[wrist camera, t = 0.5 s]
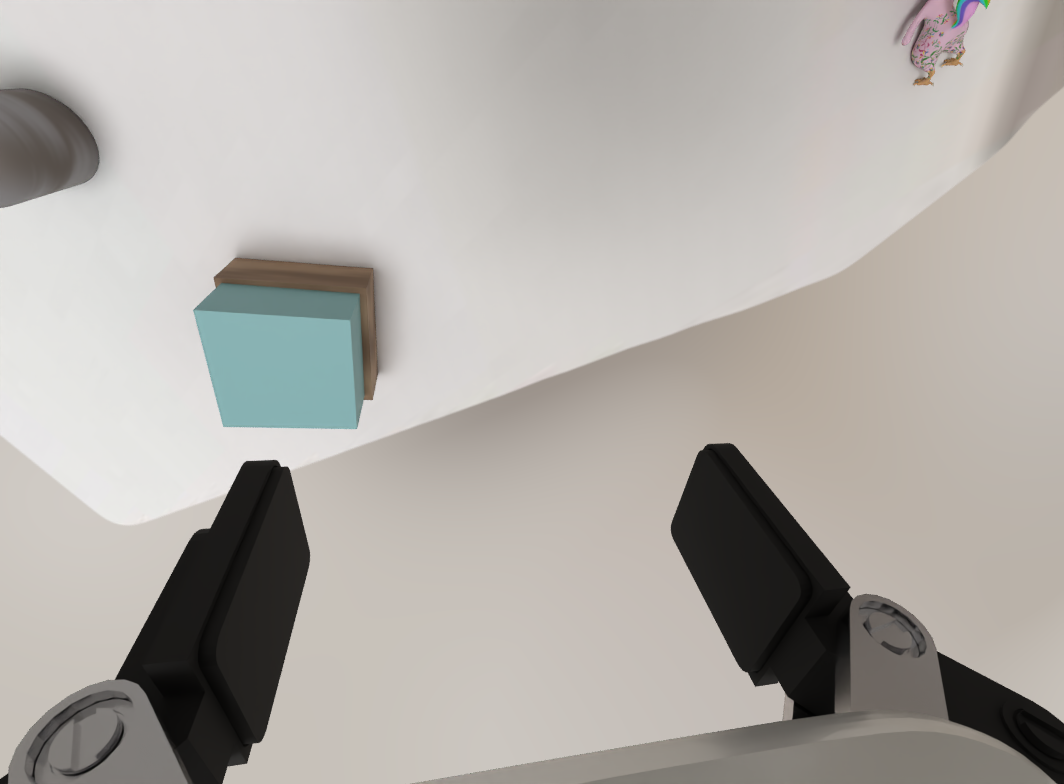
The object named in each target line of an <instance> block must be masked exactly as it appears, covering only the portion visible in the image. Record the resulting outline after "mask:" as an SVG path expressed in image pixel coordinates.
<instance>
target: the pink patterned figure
mask: <svg viewBox="0 0 1064 784" xmlns="http://www.w3.org/2000/svg"><path fill="white" fill-rule="evenodd" d="M953 2H954V0H927V2H926V3H925V5H924V6H923V7H922V9H921V10H920V11H919V13H918V14H917V16H916V17H915V19H914V20H913V22H912V24H911V25H910V27H909V29H908V30H907V32H906V34H905V36H904V38H903V40H902V45H907V44H908V43H909V42H910V40H911V38H912V35H913V33H914V31H915V29H916V28H917V26H918V25H919V23H920V22H921V21H922V20H923V19H924V21H925V24H924V27H923V29H922V31H921V33H920V35H919V37H918V39H917V41H916V43H915V45H914V48H913V50H912V54H911V58H912V62H913V64H914V65H915V66H917V67H919V68H921V69H922V70H924V71H926V72H927V73H928V74H929V75H928V77H927V78H925V77H924V78H923V79H917V80H915V82H916V81H918V83H915V84H917V85H928V84H931V85H933V86H934V84H933V83H932V82H930V79H931V77H932V76H933V75H934V73H935V69H934V66H935V64H936V61H937V58H938V56H939V55H940V53H941V52H950V53H955V54H957V57H956V58H951V60H950V59H948V60H947V59H946V60H944V62H945V61H947V62H946V63H945V64H943V65H942V66H944V65H946V66H947V65H955V66H956V65H958V64H960V65H961V66H963V64H962V63H960V62H959V60H960V58H961V57H962V55H963V54H964V53H965V49H964V46H963V37H964V35H965V33H966V32H967V30H968V27H969V22H968V20H969V19H970V18H971V16H972V15H973V14H974V12H975V10H976V8H977V6H978V4H979V2H980V3H982V4H983V5H984V6H985V7H986V9H987V7H988V5H989V3H990V0H958V3H957V7H956V10H955V9H954V7H953ZM942 66H941V67H942ZM915 84H914V86H915Z"/></svg>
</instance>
